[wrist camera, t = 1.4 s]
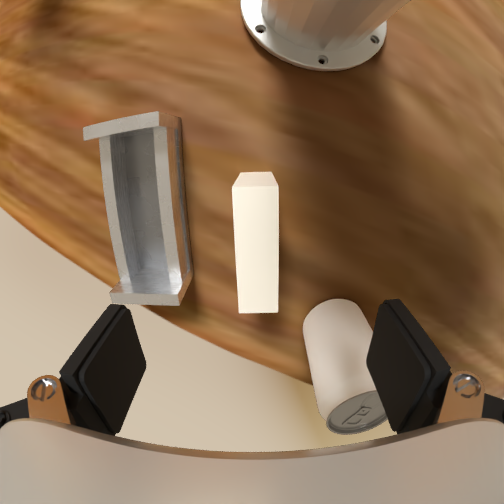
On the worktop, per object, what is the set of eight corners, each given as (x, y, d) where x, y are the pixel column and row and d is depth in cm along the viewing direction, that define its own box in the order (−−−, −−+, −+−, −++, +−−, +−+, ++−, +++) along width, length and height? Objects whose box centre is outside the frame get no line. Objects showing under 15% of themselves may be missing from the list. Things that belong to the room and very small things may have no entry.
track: (117, 128, 21) (83, 127, 16) (180, 117, 21) (158, 111, 16) (135, 274, 26) (112, 303, 21) (193, 273, 26) (179, 305, 21)
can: (373, 307, 27) (420, 391, 16) (341, 352, 29) (368, 439, 18) (321, 287, 26) (356, 380, 15) (290, 337, 28) (304, 433, 17)
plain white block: (240, 172, 22) (231, 187, 15) (272, 171, 22) (279, 185, 15) (244, 262, 25) (238, 313, 18) (273, 262, 25) (278, 312, 18)
